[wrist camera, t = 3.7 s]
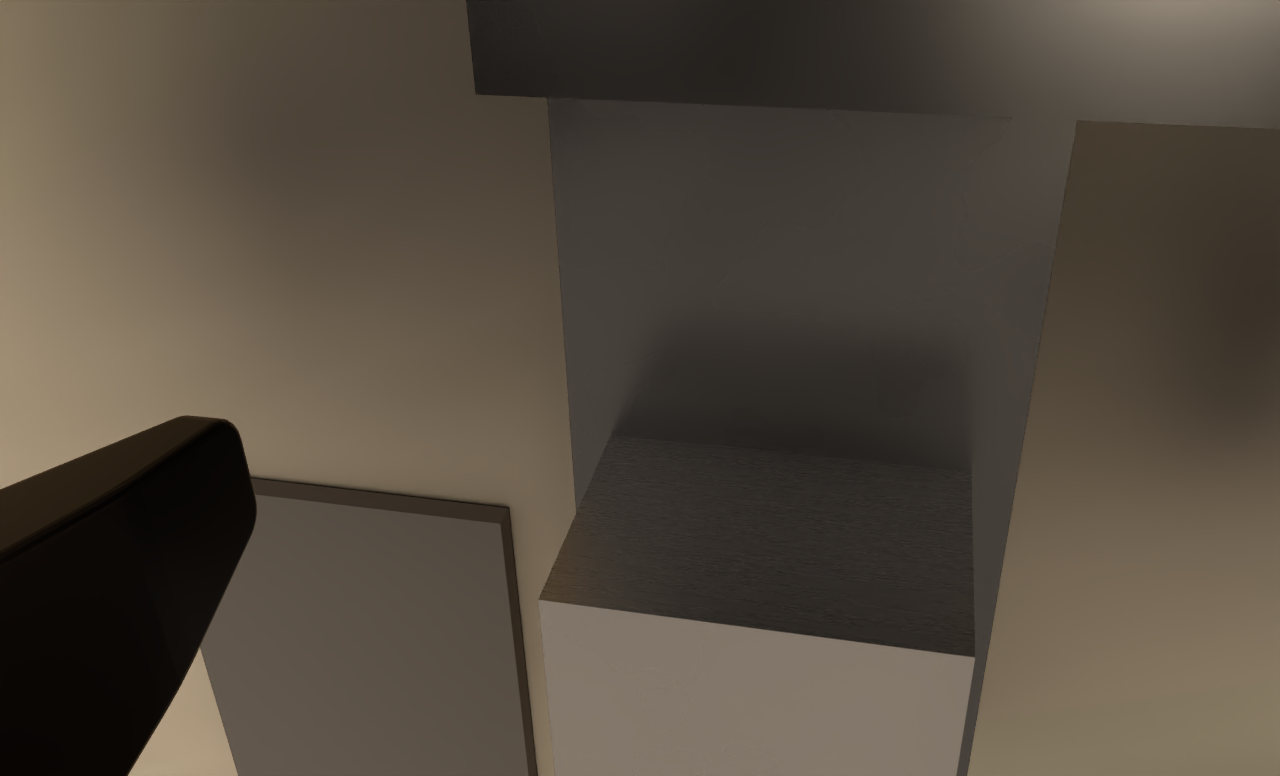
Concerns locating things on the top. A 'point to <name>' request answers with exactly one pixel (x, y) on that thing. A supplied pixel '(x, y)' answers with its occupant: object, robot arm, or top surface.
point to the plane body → (840, 210)
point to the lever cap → (760, 616)
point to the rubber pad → (372, 639)
